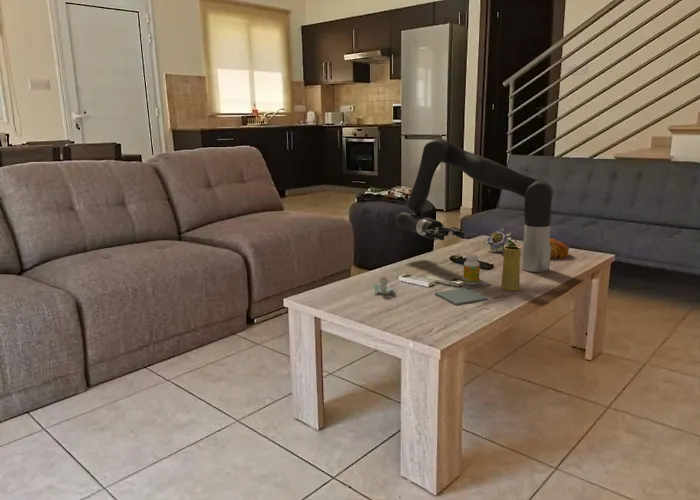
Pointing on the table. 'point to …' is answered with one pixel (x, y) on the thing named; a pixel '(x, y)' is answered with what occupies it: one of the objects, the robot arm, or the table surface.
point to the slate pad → (460, 296)
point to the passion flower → (499, 240)
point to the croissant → (558, 249)
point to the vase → (511, 268)
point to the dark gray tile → (480, 284)
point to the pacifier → (383, 286)
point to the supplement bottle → (471, 270)
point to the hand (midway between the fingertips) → (453, 236)
